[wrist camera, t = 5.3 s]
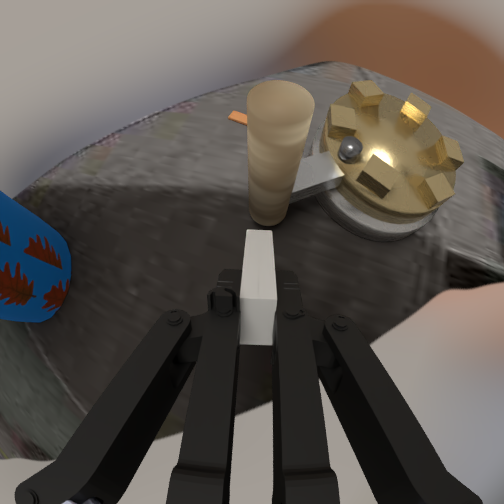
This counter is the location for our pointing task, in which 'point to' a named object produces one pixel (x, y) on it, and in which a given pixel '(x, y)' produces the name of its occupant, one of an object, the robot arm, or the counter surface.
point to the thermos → (30, 265)
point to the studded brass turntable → (347, 153)
